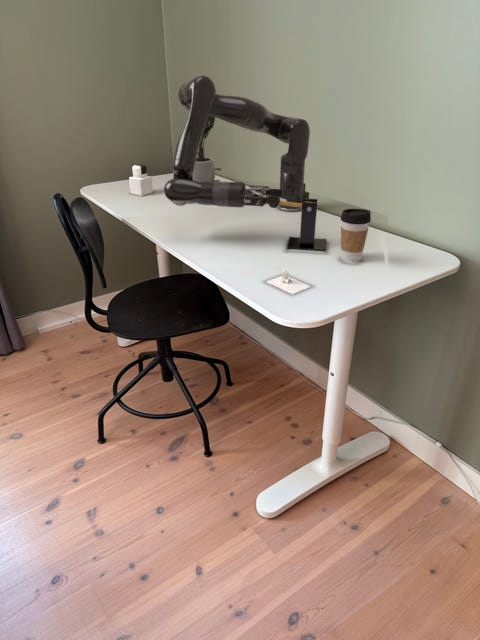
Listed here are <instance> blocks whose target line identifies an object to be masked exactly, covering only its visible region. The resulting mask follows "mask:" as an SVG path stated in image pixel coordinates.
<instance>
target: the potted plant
mask: <svg viewBox="0 0 480 640" xmlns="http://www.w3.org/2000/svg"><path fill="white" fill-rule="evenodd" d="M188 113H190V111H189V110H188ZM215 121H216V117H213V116H210V115H209V117H208V120H207V122H206V125H205V128H204V131H203V134H202V137H201V141H200V144H199V148H198V153H197V158H196V163H195V167H194V171H193V181H197V182H221V179H215V178H216V171H222V167H215V163H214V159H213V158H212V157H208V156H207V157H206V156H205V140H206V139H207V138H208V137H209V134H210V131H211V130H212V129H213V128H214V127H215V126H214V125H215ZM187 204H197V203H196V202H188V203H187Z"/></svg>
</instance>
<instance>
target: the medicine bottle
mask: <svg viewBox="0 0 480 640" xmlns="http://www.w3.org/2000/svg"><path fill="white" fill-rule="evenodd" d="M131 170H132V176H129V177H128V182H129V190H130V194H131V195H135V196H140V197H144V196H147V195H151V194H154V186H153V176H151V175H148V169H147V165H145V164H134V165H133V166H132V168H131Z"/></svg>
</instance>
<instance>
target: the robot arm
mask: <svg viewBox="0 0 480 640" xmlns="http://www.w3.org/2000/svg"><path fill="white" fill-rule="evenodd" d="M177 97H178V100H179V103H180V104H181V106H182V107H183V108H184V109H186V110H187V111H188V113H189V111H190V113H189V114H188V116H187V119H186V123H185V125H184V127H183V129H182V131H181V133H180V135H179V137H178V139H177V142H176V145H175V149H174V154H173V158H172V163H171V170H172V173H173V178H172V179H169V180H168V181H166V183H165V184H164V186H163V194H164V195H165V197H166V198H167V200H169V201H170V202H171V203H172V204H173V205H175V206H178V207H184V206H186V205H187V204H189V203H188V202H196V203H195V204H198V205H202V206H216V207H221V208H244V207H245V206H251V207H264V206H266V205H268V204H279V203H280V201H285V202H294V203H302V202H303V198H309V199H310V191H306V183H305V169H306V168H305V167H306V160H307V157H308V153H309V145H310V138H311V128H310V124H309V122H308V121H307V120H306V119H304V118H301V117H300V118H299V117H292V116H286V115H281V114H277V113H274V112H272V111H270V109H268V108H267V107H266V106H265V105H263V104H262V103H260V102H258V101H255V100H253V99H251V98H248V97H245V96H240V95H239V96H238V95H229V94H227V95H226V94H219V93H217V87H216V85H215V82H213V79H211V78H210V77H209V76H206V75H197V76H195V77H193V78H191V79H188V80H186V81H185V82H183V83H182V84H181V85H180V87H179V88H178V91H177ZM209 115H210V116H213V117H215V119H219V120H221V121H223V122H227V123H229V124H232V125H235V126H238V127H239V128H243V129H245V130H249V131H251V132H255V133H262V134H266V135H269V136H271V137H273V138H274V139H277V140H279V141H280V142H282V143H284V144H287V145H288V148H287V152H286V153H284V154H282V155H281V156H280V169H279V170H280V171H279V188H271V187H270V186H268V185H250V188H246V184H245V182H241V181H220V182H197V181H193V171H194V167H195V163H196V158H197V157H198V156H197V155H198V152H199V144H200V141H201V137H202V134H203V131H204V130H205V129H204V128H205V125H206V122H207V120H208V117H209ZM278 209H279V210H281V211H285V212H297V211H302V208H301V207H293V206H285V205H279V206H278Z"/></svg>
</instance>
